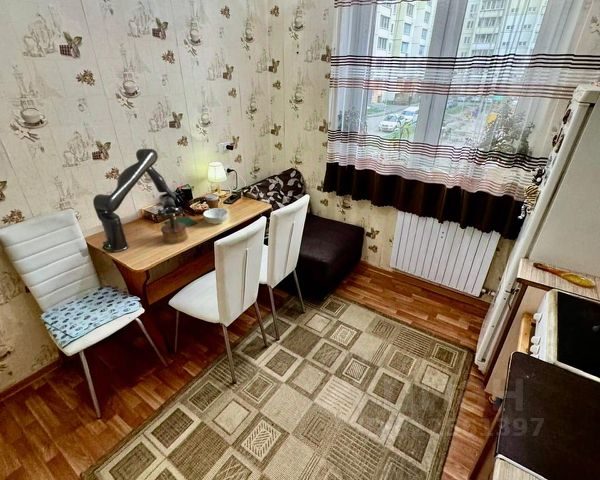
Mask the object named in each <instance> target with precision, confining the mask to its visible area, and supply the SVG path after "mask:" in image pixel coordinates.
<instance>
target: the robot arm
mask: <svg viewBox="0 0 600 480" xmlns="http://www.w3.org/2000/svg"><path fill="white" fill-rule="evenodd" d="M135 158H136V160H137V162H136V163H134V164H131V165H130V166H128V167H126V168H125V169H124V170H123V171H121V173H120V174H119V176H118V177H117V182H116V188H115V189H114V191H113V192H112V193H111V194H103V193H99V194H96V195H95V196H94V198H93V201H92V204H93V208H94V210H95V213H96V216H97V218H98V220H99V221H100V222H101V225H102V227H103V228H102V229H103V231H104V236H105V239H106V241H103V242H102V249H103V250H104V251H109V250H110V252H111V253H119V252H124V251H125V250H127V249H128V248H129V244H128V240H127V237H126V235H125V231H124V228H123V224H122V220H121V217H120V215H119V214H117V213H115V212H116V211H117V210H118V209H119V207H120V206H121V204H122V203H123V202H124V200H125V198H126V197H127V196H128V194H129V193H130V191H131V190H132V189H133V188H134V187H135V186H136V184H137V183H138V182H139V181H140V179H141V178H143V176H144V175H145V174H147V175H148V176H149V178H150V179H151V181H152V183H153V184H154V186H155V188H156V191H157V192H158V193H161V194H160V195H159V197H158V199H159V202H160V204H162V208H163V209H161V208H159V209H157V215H158V217H161V218H163V219H165V216H167V215H169V214H170V213H173V215H177V216H178V217H180V216H181V214H183V212H184V211H183V207H182V206H179V207H177V206H176V204H175V201H176V200H177V197H176V194H175V193H174V192H173V191H172V190H171V189H170V187H169V186H168V184H167V182H166V180H165V178H164V177H163V175H161V173H159V172H158V171H157V170H156V168H154V167H153V165H155V164H156V163H157V161H158V158H159V157H158V152H157V151H156V150H155V149H153V148H139V149H137V150H136V153H135Z"/></svg>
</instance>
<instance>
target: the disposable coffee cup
mask: <svg viewBox="0 0 600 480" xmlns="http://www.w3.org/2000/svg"><path fill="white" fill-rule="evenodd" d="M219 198H220V196H219V195H218V194H216V193H209V194H207V195H205V200H206V203H207V207H208V209H209V208H210V209H213V208H219Z"/></svg>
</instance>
